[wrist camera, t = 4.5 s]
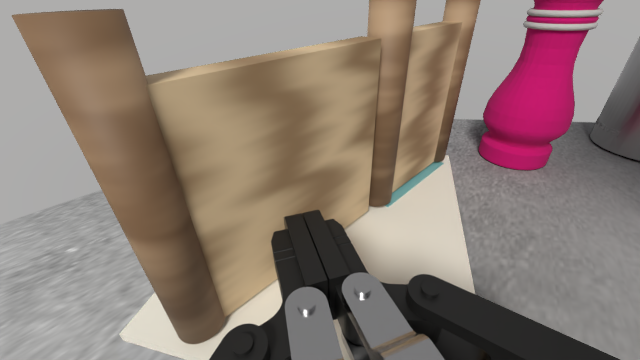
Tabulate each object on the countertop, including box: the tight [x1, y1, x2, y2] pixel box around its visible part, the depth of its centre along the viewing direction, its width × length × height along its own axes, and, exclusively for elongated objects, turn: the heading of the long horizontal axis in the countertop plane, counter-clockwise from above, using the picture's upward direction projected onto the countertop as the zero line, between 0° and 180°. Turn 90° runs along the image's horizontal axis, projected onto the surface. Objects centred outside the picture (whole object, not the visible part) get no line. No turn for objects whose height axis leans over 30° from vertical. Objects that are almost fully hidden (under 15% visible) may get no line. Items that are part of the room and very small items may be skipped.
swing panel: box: [12, 9, 382, 344], centre depth 15 cm, size 14×2×14 cm, turn 135°
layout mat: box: [119, 155, 475, 360], centre depth 23 cm, size 18×24×1 cm
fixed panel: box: [367, 0, 480, 207], centre depth 23 cm, size 12×3×15 cm, turn 135°
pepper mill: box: [479, 0, 603, 170], centre depth 26 cm, size 7×7×20 cm
